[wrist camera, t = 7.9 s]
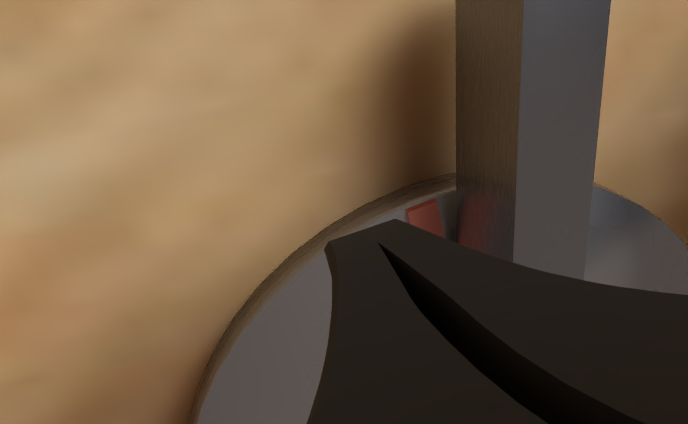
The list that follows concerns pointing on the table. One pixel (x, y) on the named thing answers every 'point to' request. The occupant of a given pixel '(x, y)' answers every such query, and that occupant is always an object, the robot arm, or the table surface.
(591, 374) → the robot arm
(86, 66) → the table surface
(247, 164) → the table surface
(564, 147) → the gear with bar handle
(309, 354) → the grey round disc
